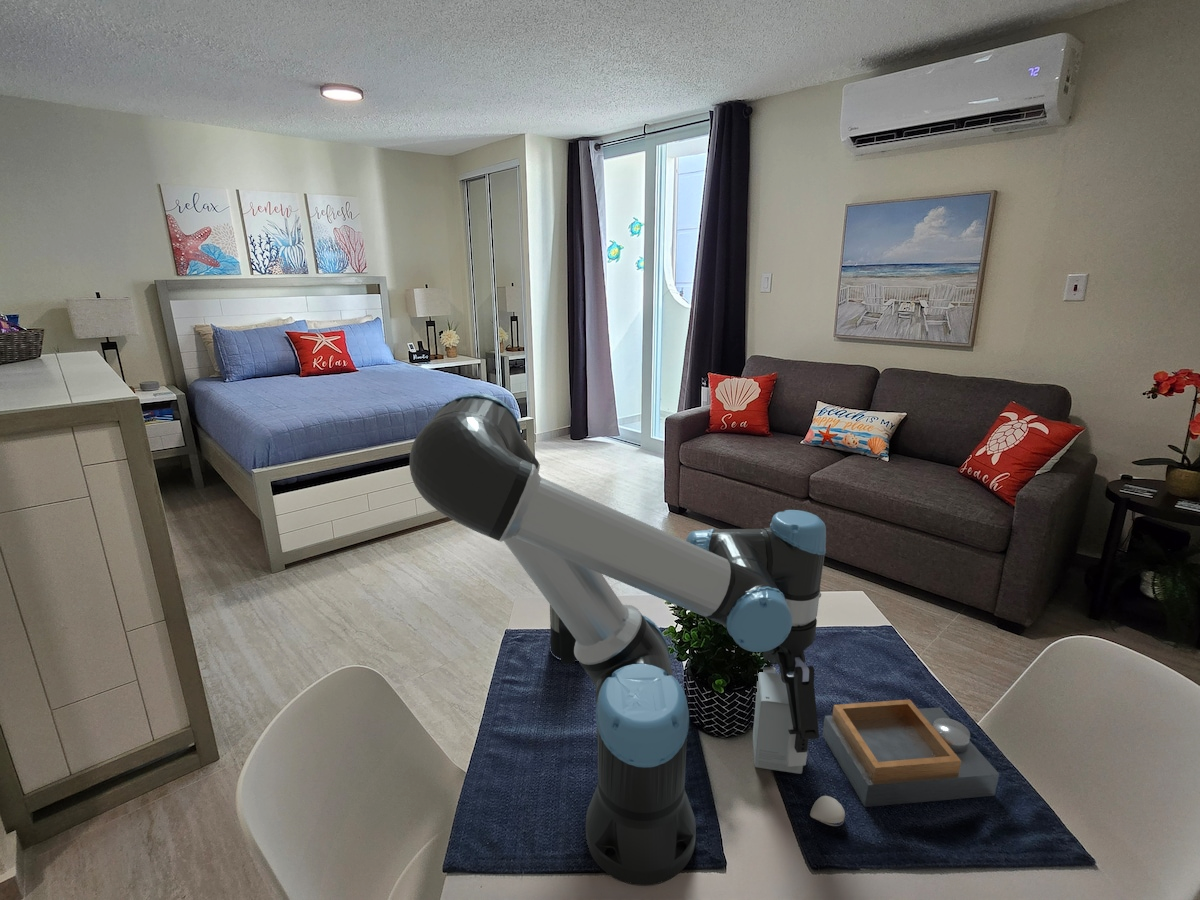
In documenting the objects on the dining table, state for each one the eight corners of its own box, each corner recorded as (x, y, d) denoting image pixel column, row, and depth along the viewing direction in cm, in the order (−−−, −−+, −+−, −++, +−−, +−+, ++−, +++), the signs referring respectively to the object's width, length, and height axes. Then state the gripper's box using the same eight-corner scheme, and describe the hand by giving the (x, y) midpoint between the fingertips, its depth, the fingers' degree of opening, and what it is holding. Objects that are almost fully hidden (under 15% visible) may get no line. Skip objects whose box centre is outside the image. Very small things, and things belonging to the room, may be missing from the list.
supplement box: (803, 775, 95) (811, 707, 91) (753, 768, 96) (759, 700, 92) (798, 740, 101) (805, 675, 98) (752, 733, 103) (757, 669, 99)
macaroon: (849, 827, 86) (851, 813, 85) (818, 835, 85) (820, 821, 84) (831, 802, 90) (833, 788, 89) (800, 810, 89) (802, 796, 88)
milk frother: (545, 639, 129) (543, 576, 124) (618, 628, 132) (618, 566, 128) (559, 683, 116) (556, 614, 111) (638, 669, 119) (639, 601, 115)
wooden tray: (864, 807, 89) (870, 771, 87) (822, 735, 102) (826, 703, 100) (994, 795, 91) (1002, 760, 89) (936, 726, 104) (942, 694, 102)
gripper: (855, 664, 79) (837, 793, 86) (783, 570, 103) (773, 677, 110) (799, 668, 79) (785, 798, 85) (739, 573, 103) (732, 680, 109)
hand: (778, 730), depth 97 cm, fingers open, 13 cm apart
